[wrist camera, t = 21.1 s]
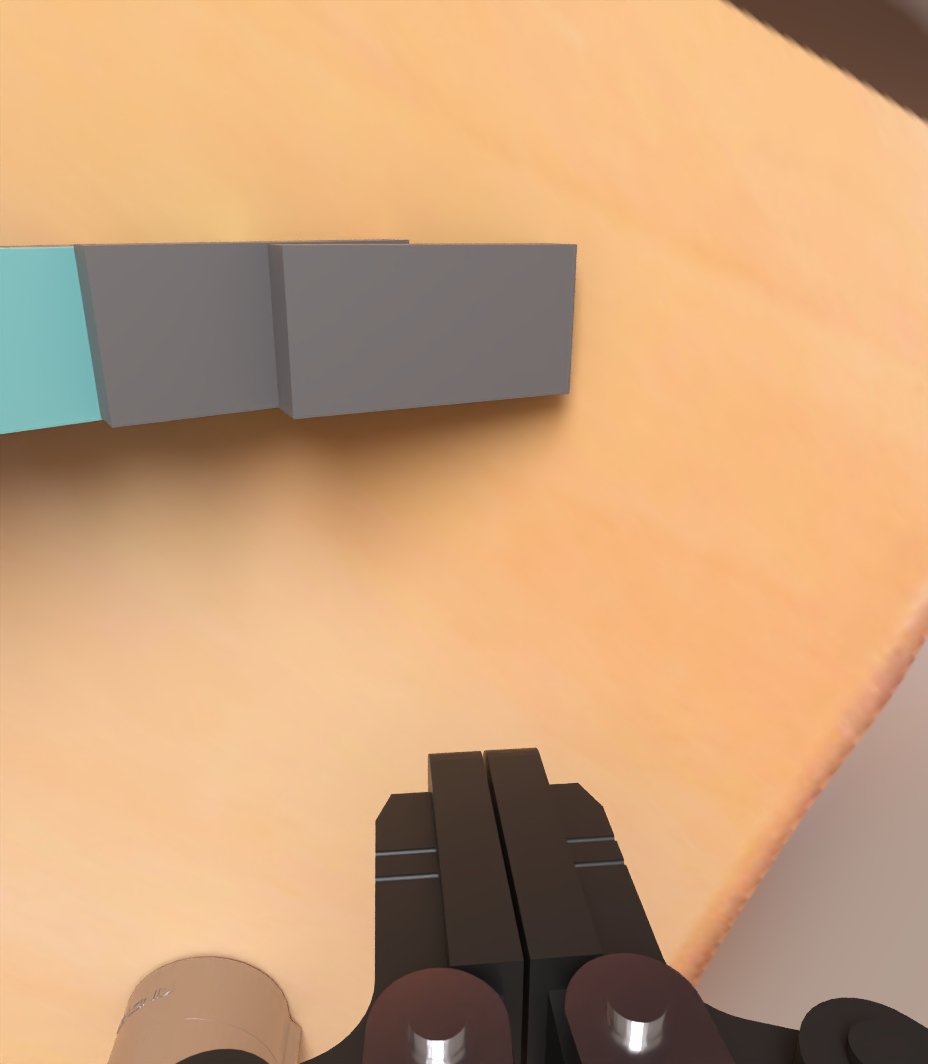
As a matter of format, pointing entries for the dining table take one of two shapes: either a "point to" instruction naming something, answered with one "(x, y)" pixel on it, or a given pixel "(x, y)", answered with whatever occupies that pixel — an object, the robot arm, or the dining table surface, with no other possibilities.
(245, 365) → the domino
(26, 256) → the domino
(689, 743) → the dining table surface
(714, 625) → the dining table surface
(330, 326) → the domino
